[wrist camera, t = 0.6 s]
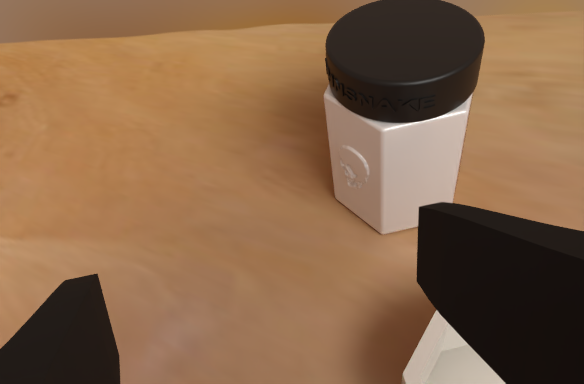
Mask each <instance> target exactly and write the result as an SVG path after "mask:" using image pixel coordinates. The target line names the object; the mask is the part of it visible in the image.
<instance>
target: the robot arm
mask: <svg viewBox="0 0 584 384" xmlns="http://www.w3.org/2000/svg"><path fill="white" fill-rule="evenodd" d="M417 282H418V284H419V285H420V287H421V288H422V290H423V291H424V293H425V294H426V296H427V297H428V299H429V300H430V301H431V303H432V304H433V305H434V307H435V308H436V310H437V311H438V312H439V314H440V315H441V316H442V317H443V318H444V319H445V320H446V321H447V322H448V323H449V325H450V326H451V327H452V328H453V329H454V330H455V331H456V332H457V333H458V334H459V335H460V336H461V337H462V338H463V339H464V340H465V342H466V343H467V344H468V345H469V346H470V347H471V348H472V349H473V350H474V351H475V352H476V353H477V354H478V355H479V356H480V357H481V358H482V359H483V360H484V361H485V362H486V363H487V364H488V365H489V367H490V368H491V369H492V370H493V371H494V372H495V373H496V374H497V375H498V376H499V377H500V378H501V379H502V380H503V381H504V382H505V383H506V384H584V231H579V230H574V229H569V228H564V227H559V226H554V225H549V224H545V223H540V222H536V221H531V220H527V219H523V218H519V217H514V216H510V215H506V214H502V213H498V212H493V211H489V210H485V209H481V208H476V207H471V206H466V205H461V204H455V203H447V202H439V203H434V204H429V205H425V206H420V207H419V214H418V252H417ZM0 384H120V364H119V353H118V349H117V346H116V342H115V338H114V334H113V331H112V327H111V323H110V319H109V316H108V312H107V308H106V304H105V301H104V297H103V293H102V289H101V285H100V282H99V278H98V274H93V275H88V276H84V277H79V278H74V279H69V280H65V281H64V282H63V283H62V284H61V285H60V286H59V287H58V288H57V289H56V290H55V291H54V292H53V293H52V294H51V295H50V296H49V298H48V299H47V300H46V301H45V302H44V303H43V304H42V305H41V306H40V308H39V309H38V310H37V311H36V312H35V313H34V314H33V315H32V316H31V317H30V319H29V320H28V321H27V322H26V323H25V324H24V325H23V326H22V327H21V328H20V329H19V330H18V331H17V333H16V334H15V335H14V336H13V337H12V338H11V339H10V340H9V341H8V342H7V343H6V344H5V345H4V346H3V347H2V348H1V349H0Z"/></svg>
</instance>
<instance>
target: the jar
mask: <svg viewBox="0 0 584 384" xmlns="http://www.w3.org/2000/svg"><path fill="white" fill-rule="evenodd" d="M484 43H485V37H484V32H483V29H482V27H481V25H480V24H479V22H478V21H477V20H476V18H475V17H474V16H473V15H471V14H470V13H469V12H467V11H466V10H464V9H462V8H460V7H458V6H456V5H453V4H451V3H448V2H445V1H441V0H380V1H376V2H372V3H369V4H366V5H363V6H361V7H359V8H357V9H354V10H353V11H351V12H349V13H347V14H346V15H344V16H343V17H342V18H341V19H339V20H338V21H337V22H336V23H335V24H334V26H333V27H332V28H331V30H330V32H329V34H328V36H327V39H326V58H325V61H326V71H327V74H328V80H329V84H328V86H327V88H326V90H325V93H324V105H325V114H326V122H327V131H328V140H329V149H330V158H331V167H332V175H333V184H334V193H335V198H336V199H337V200H338V201H339V202H341V203H342V204H343V205H344V206H346V207H347V208H348V209H350V210H351V211H352V212H353V213H355V214H356V215H357V216H359V217H360V218H361V219H362V220H364V221H365V222H366V223H368V224H369V225H370V226H371V227H373V228H374V229H375V230H377V231H378V232H379V233H381V234H388V233H392V232H396V231H401V230H405V229H410V228H414V227H418V214H419V207H420V206H425V205H429V204H434V203H439V202H447V203H453V200H454V195H455V190H456V185H457V180H458V175H459V170H460V164H461V159H462V153H463V148H464V142H465V137H466V131H467V126H468V120H469V115H470V109H471V104H472V98H473V92H474V89H475V87H476V85H477V81H478V75H479V70H480V65H481V59H482V54H483V48H484Z"/></svg>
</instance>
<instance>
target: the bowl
mask: <svg viewBox="0 0 584 384" xmlns="http://www.w3.org/2000/svg"><path fill="white" fill-rule="evenodd" d="M402 384H506V383H505V382H504V381H503V380H502V379H501V378H500V377H499V376H498V375H497V374H496V373H495V372H494V371H493V370H492V369H491V368H490V367H489V365H488V364H487V363H486V362H485V361H484V360H483V359H482V358H481V357H480V356H479V355H478V354H477V353H476V352H475V351H474V350H473V349H472V348H471V347H470V346H469V345H468V344H467V343H466V342H465V340H464V339H463V338H462V337H461V336H460V335H459V334H458V333H457V332H456V331H455V330H454V329H453V328H452V327H451V326H450V325H449V323H448V322H447V321H446V320H445V319H444V318H443V317H442V316H441V315H440V314H439V312H438V311H437V310H436V312H435V313H434V315H433V317H432V319H431V321H430V323H429V325H428V327H427V329H426V331H425V332H424V334H423V336H422V338H421V340H420V342H419V344H418V346H417V348H416V349H415V351H414V353H413V355H412V357H411V359H410V361H409V363H408V365H407V367H406V368H405V370H404V372H403V374H402Z"/></svg>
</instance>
